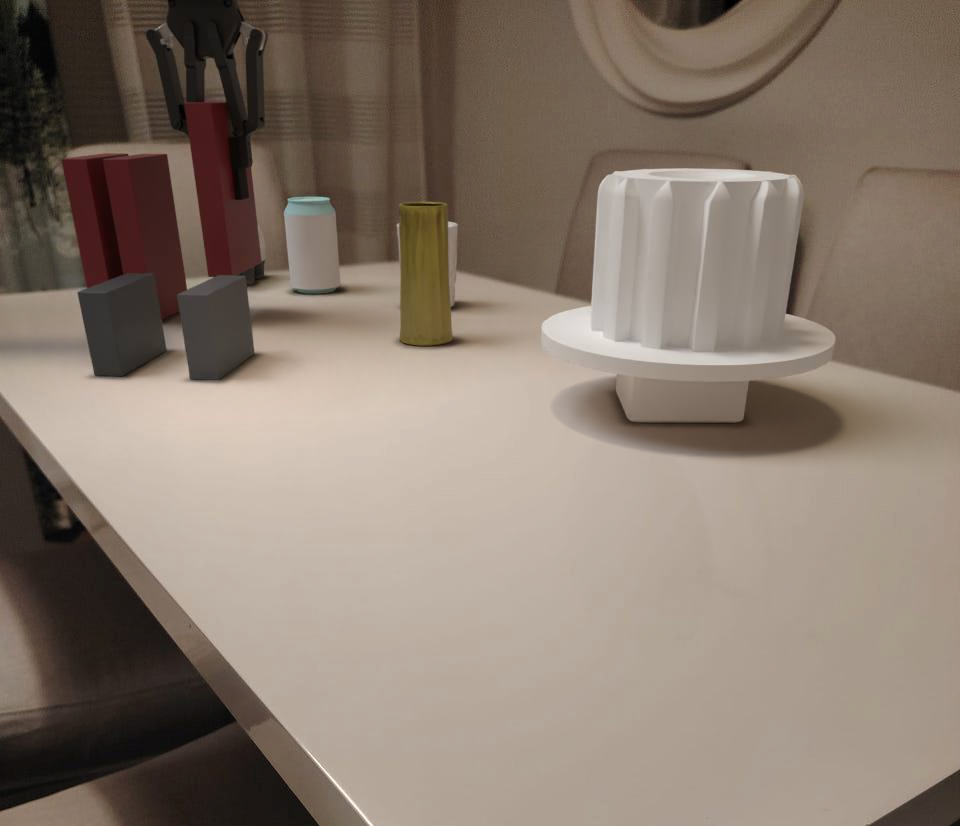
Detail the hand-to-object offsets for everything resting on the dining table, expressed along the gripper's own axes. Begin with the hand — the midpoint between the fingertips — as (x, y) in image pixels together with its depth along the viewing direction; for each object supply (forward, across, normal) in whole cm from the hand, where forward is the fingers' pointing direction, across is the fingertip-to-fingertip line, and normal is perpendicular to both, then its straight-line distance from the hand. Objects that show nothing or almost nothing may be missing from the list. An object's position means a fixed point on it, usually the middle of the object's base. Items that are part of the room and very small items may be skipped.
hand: (227, 198), depth 112 cm
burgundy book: (+8, 0, 0) cm, 8 cm away
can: (+14, -4, -19) cm, 24 cm away
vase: (+14, -25, +10) cm, 31 cm away
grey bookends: (+14, -1, +24) cm, 28 cm away
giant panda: (+14, +9, -24) cm, 29 cm away
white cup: (+14, -22, -10) cm, 28 cm away
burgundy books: (+14, +13, 0) cm, 19 cm away
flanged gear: (+14, -52, +33) cm, 63 cm away
